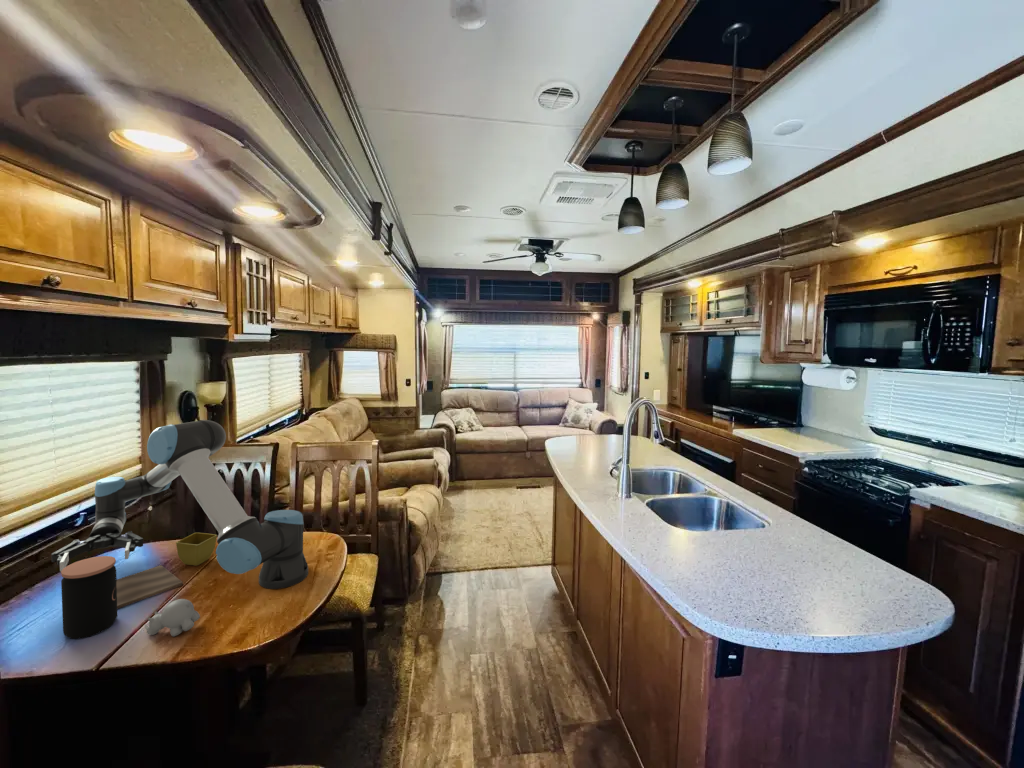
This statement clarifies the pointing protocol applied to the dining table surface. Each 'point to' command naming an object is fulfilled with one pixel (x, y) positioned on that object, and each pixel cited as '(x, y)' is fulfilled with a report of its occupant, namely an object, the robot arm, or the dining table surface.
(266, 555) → the robot arm
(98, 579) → the coffee jar
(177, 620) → the chubby cartoon animal
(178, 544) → the flower pot
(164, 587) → the walnut board
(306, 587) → the dining table surface
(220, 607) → the dining table surface
